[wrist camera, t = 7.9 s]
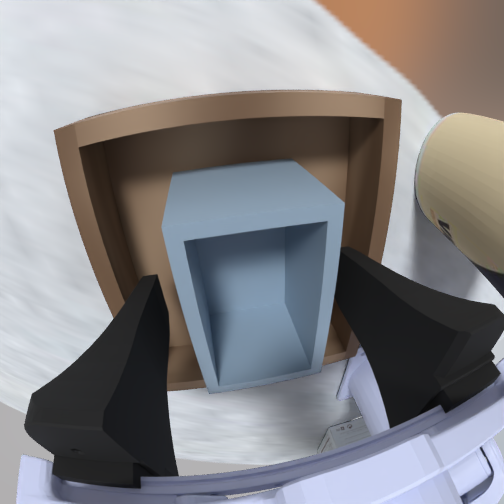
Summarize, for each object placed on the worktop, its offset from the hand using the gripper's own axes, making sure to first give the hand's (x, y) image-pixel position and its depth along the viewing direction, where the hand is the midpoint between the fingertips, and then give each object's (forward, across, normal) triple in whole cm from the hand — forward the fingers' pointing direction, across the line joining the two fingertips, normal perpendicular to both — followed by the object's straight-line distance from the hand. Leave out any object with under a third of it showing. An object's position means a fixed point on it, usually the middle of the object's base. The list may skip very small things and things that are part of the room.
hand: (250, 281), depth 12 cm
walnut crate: (+3, 0, 0) cm, 3 cm away
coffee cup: (+4, -14, -3) cm, 15 cm away
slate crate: (+3, 0, 0) cm, 3 cm away
